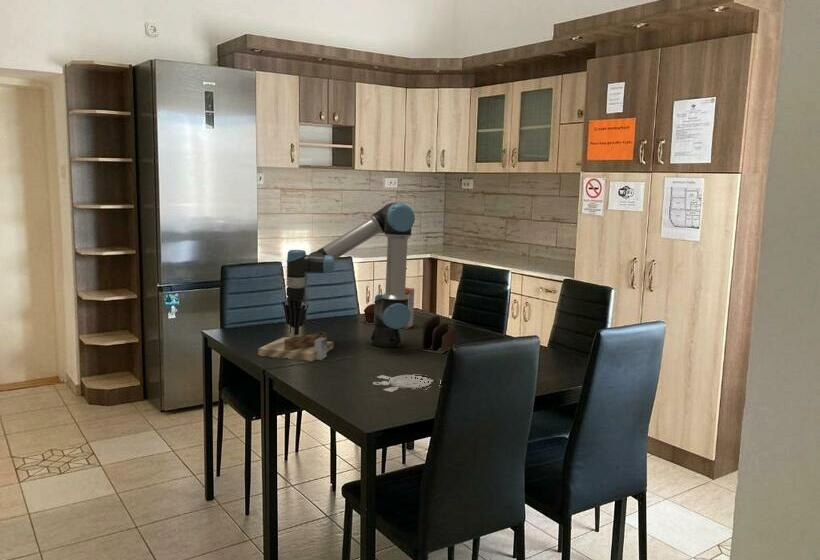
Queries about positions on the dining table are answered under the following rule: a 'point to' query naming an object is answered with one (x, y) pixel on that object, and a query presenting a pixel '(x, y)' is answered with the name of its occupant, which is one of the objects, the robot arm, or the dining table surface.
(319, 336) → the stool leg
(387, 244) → the robot arm
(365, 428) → the dining table surface
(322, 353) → the stop post
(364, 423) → the dining table surface
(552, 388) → the dining table surface
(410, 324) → the cracker box
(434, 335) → the letter holder
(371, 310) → the muffin
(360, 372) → the dining table surface
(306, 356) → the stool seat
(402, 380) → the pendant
